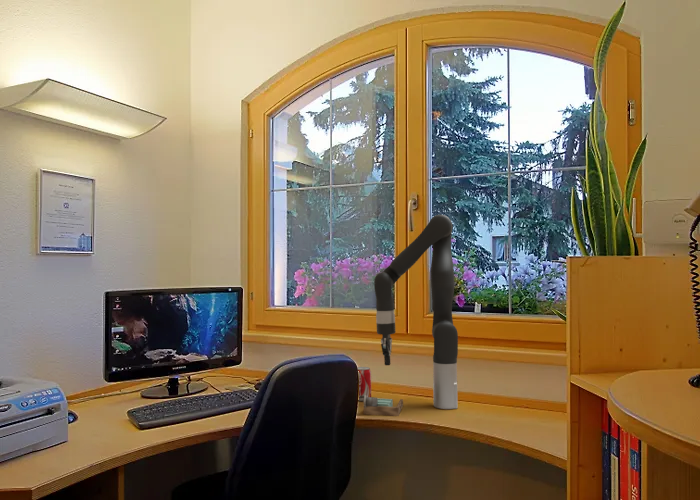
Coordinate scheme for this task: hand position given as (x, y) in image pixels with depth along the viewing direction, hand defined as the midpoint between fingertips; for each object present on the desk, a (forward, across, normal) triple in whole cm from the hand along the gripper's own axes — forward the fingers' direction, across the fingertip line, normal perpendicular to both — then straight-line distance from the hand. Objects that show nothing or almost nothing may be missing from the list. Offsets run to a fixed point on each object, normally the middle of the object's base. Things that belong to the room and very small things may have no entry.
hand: (387, 364), depth 220 cm
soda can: (+15, +5, +12) cm, 20 cm away
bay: (+15, -11, +1) cm, 19 cm away
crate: (+16, -12, +2) cm, 19 cm away
